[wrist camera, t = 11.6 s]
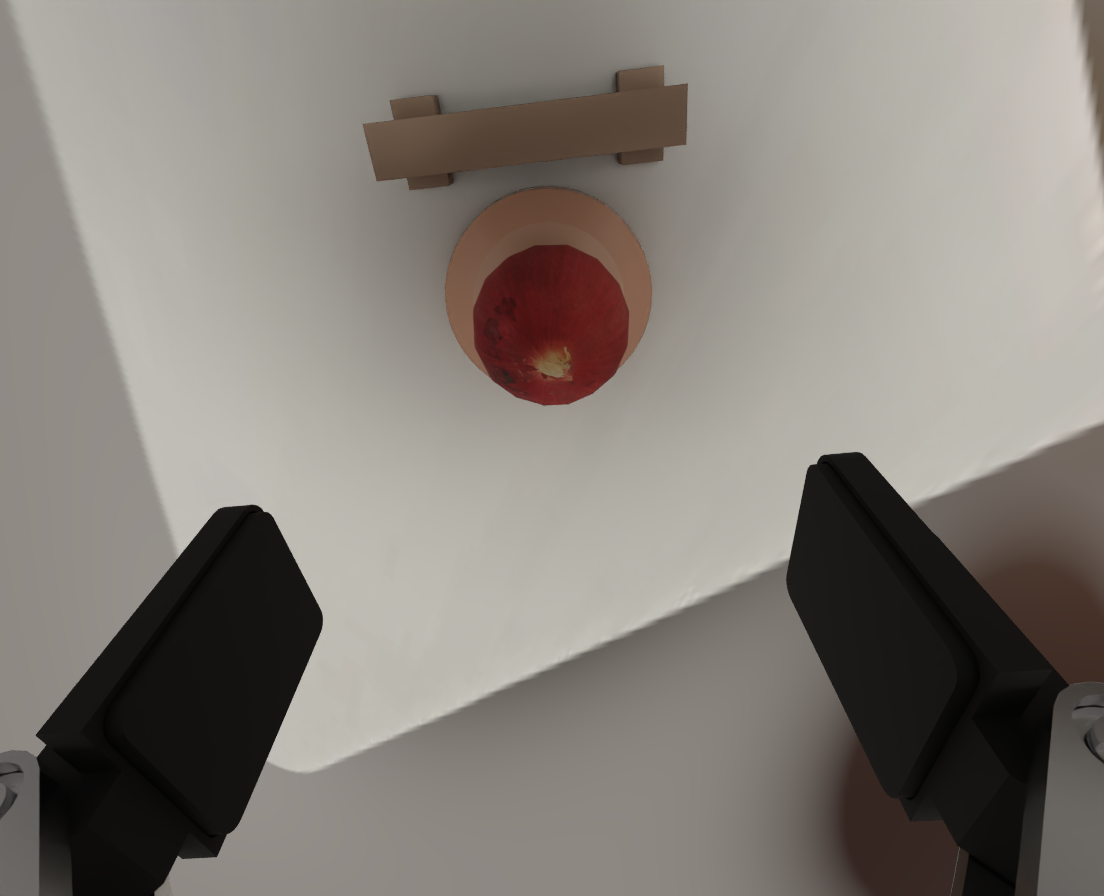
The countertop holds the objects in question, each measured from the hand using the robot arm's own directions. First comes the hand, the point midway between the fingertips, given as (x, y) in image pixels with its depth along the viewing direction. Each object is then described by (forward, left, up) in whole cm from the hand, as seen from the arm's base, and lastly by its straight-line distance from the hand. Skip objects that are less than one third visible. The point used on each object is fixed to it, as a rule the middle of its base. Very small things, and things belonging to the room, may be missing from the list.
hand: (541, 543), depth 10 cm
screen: (-6, 0, -17) cm, 18 cm away
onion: (0, 0, -16) cm, 16 cm away
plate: (0, 0, -17) cm, 17 cm away
